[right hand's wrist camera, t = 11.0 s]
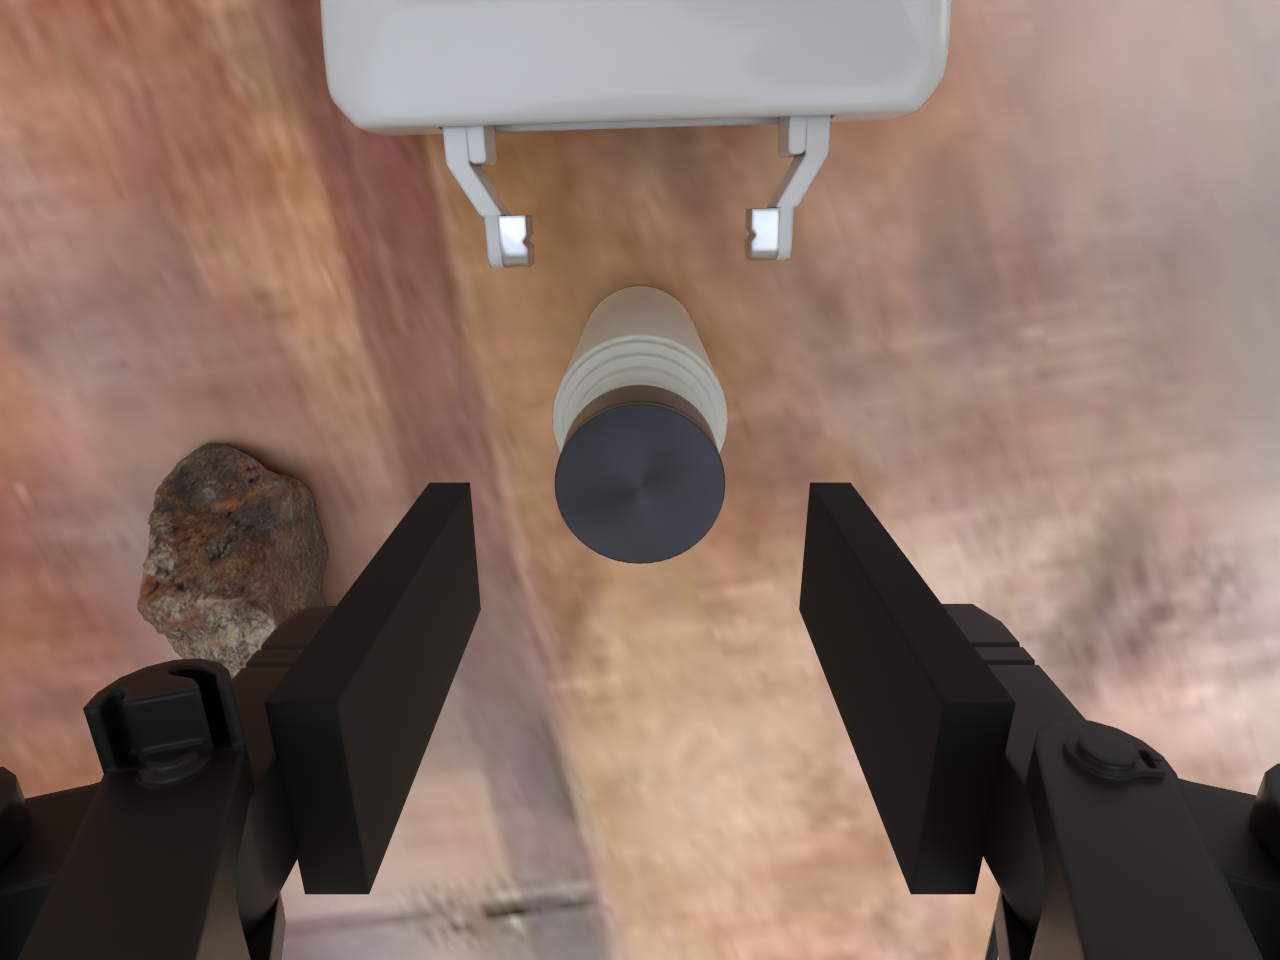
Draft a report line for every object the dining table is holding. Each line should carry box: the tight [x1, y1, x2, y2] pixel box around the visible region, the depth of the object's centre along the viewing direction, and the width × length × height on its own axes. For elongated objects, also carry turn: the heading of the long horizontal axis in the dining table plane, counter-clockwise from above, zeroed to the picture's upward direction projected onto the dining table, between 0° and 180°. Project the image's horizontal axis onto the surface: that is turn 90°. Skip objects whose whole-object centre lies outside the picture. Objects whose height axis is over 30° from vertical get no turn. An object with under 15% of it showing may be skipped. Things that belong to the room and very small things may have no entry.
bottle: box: [553, 286, 727, 453], centre depth 26 cm, size 5×5×19 cm
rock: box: [137, 444, 328, 680], centre depth 35 cm, size 14×9×10 cm
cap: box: [555, 385, 725, 564], centre depth 18 cm, size 4×4×2 cm
